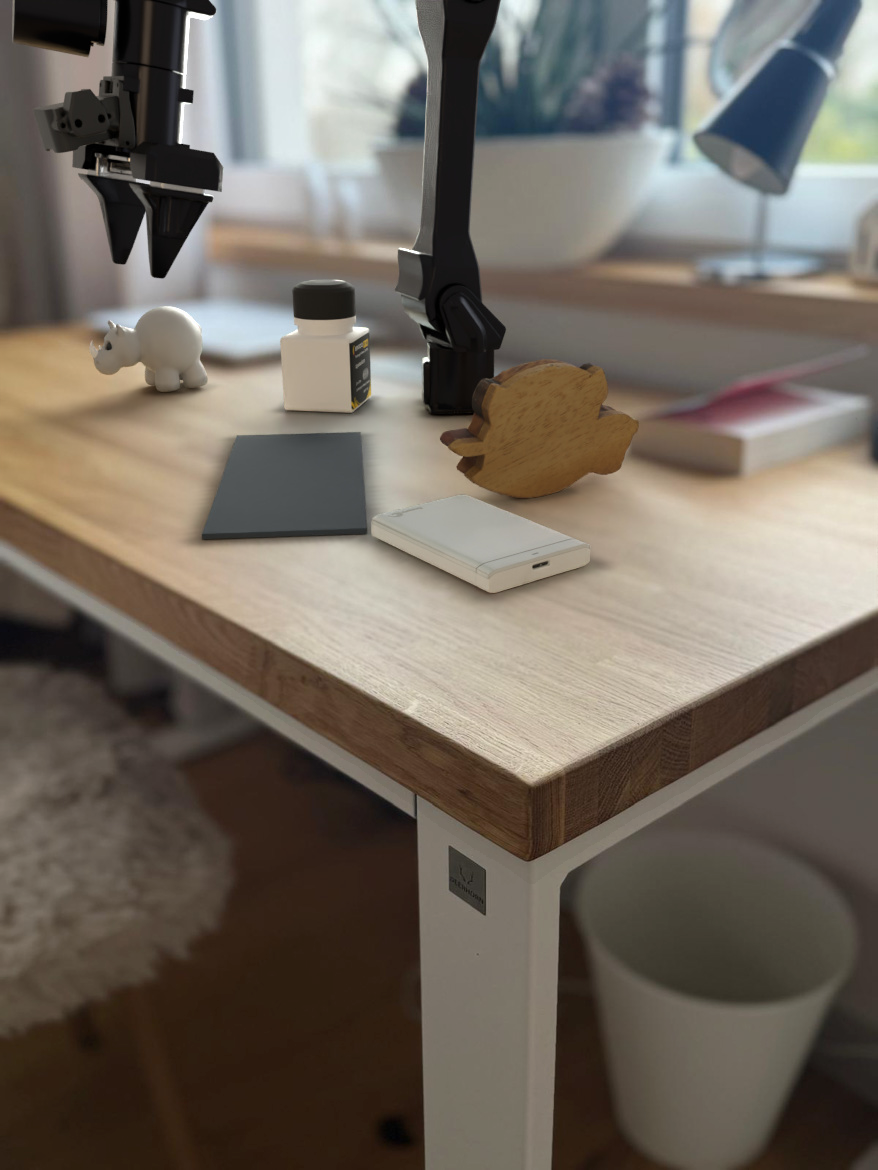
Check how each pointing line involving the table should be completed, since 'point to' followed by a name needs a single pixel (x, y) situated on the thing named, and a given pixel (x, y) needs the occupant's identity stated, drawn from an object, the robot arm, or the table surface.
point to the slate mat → (290, 487)
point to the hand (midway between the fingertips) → (137, 270)
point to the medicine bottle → (325, 350)
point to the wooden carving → (541, 429)
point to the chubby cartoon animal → (156, 349)
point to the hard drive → (480, 542)
